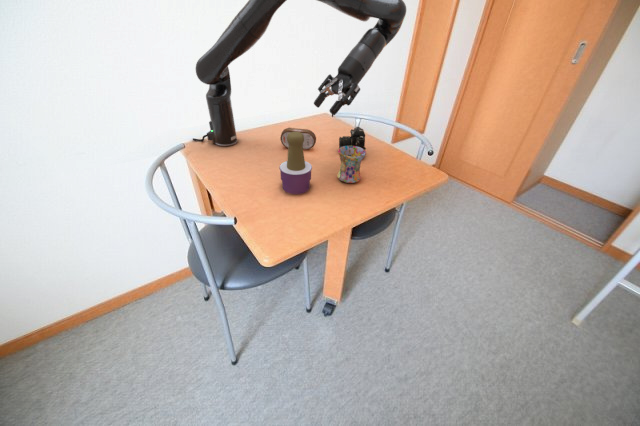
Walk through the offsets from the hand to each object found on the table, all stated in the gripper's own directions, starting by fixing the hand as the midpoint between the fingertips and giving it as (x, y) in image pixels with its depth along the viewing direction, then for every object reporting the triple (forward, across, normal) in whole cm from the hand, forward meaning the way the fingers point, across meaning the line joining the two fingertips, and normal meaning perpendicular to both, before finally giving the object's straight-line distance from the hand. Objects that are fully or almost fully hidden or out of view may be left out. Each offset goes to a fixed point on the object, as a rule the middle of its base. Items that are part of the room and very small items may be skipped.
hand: (323, 109), depth 83 cm
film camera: (0, -12, +34) cm, 36 cm away
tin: (+13, -26, +21) cm, 36 cm away
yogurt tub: (+24, +1, +9) cm, 26 cm away
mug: (+11, +4, +23) cm, 26 cm away
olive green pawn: (+19, +1, +4) cm, 19 cm away
